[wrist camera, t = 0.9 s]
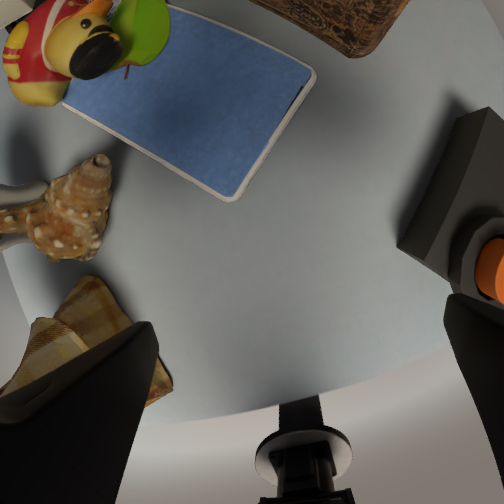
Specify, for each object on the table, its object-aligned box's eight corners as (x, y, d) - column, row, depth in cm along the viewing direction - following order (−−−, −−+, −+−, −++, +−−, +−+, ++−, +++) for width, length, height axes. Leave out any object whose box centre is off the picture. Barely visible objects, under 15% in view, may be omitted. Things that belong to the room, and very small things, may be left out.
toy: (94, -4, 19) (167, 15, 19) (58, 91, 25) (119, 127, 25) (18, -15, 11) (85, -7, 11) (-15, 103, 17) (36, 146, 17)
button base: (467, 307, 24) (508, 336, 17) (390, 257, 24) (427, 280, 17) (523, 181, 22) (571, 182, 15) (456, 117, 21) (502, 101, 14)
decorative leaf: (193, 30, 20) (195, 34, 21) (145, -26, 18) (149, -21, 19) (115, 87, 21) (120, 89, 22) (78, 26, 20) (83, 29, 21)
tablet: (320, 76, 22) (322, 70, 20) (234, 208, 24) (232, 208, 23) (135, -2, 21) (130, -8, 20) (63, 106, 23) (55, 103, 22)
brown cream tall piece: (92, 426, 29) (-1, 584, 4) (22, 328, 28) (-144, 413, 3) (186, 376, 30) (141, 606, 5) (107, 261, 29) (-121, 313, 4)
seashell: (81, 163, 28) (62, 116, 18) (138, 212, 29) (139, 180, 20) (24, 235, 25) (-19, 215, 16) (81, 287, 27) (54, 289, 17)
